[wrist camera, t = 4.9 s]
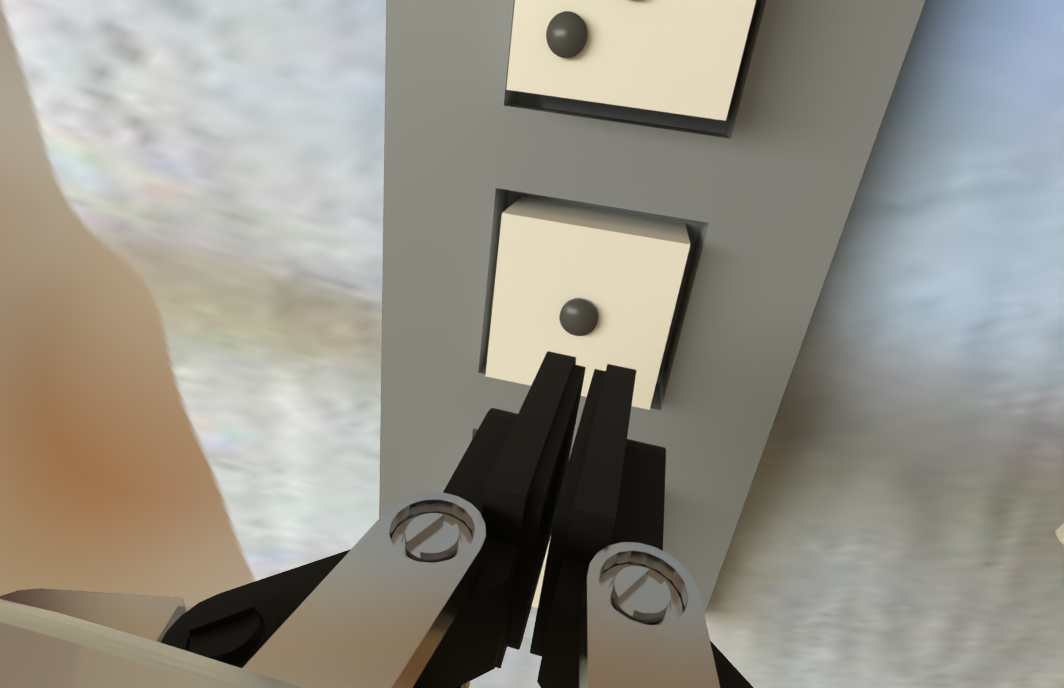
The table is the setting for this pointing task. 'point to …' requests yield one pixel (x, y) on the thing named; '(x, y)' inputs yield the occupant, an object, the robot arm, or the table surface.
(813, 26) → the tile board
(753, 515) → the table surface
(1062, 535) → the astronaut figurine
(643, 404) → the tile one
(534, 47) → the tile three
